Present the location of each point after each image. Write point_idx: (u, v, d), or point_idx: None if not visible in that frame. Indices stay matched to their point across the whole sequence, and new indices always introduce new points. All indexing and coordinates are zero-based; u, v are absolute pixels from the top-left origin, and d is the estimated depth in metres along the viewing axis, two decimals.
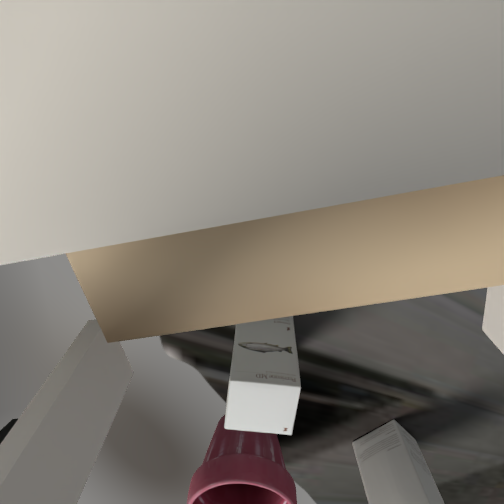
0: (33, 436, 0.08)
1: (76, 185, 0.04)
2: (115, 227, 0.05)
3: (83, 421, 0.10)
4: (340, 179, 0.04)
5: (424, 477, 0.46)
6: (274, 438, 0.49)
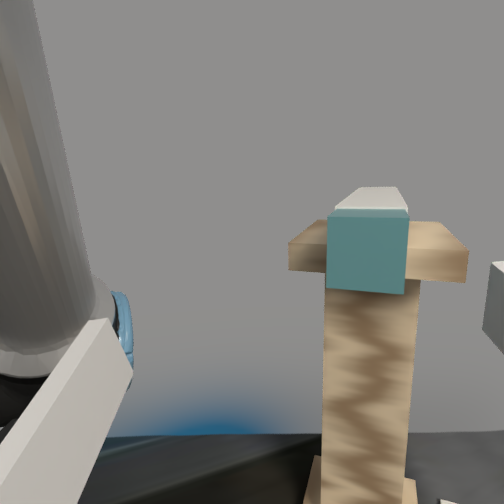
0: (33, 436, 0.08)
1: (386, 193, 0.24)
2: (396, 193, 0.24)
3: (83, 421, 0.10)
4: (393, 190, 0.27)
5: None
6: None
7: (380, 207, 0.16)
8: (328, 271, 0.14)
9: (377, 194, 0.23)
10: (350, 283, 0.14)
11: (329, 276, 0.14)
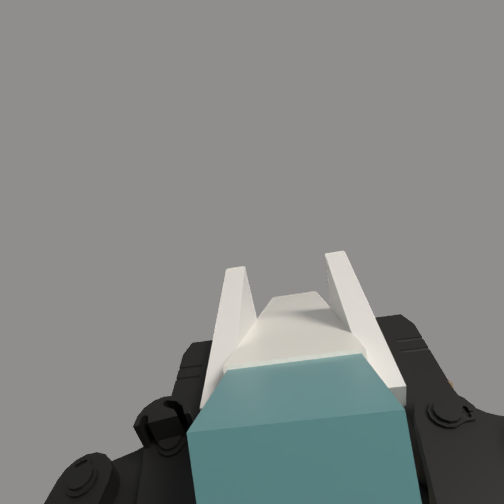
0: (237, 346, 0.10)
1: (309, 307, 0.16)
2: (322, 304, 0.17)
3: None
4: (316, 299, 0.20)
5: None
6: None
7: (312, 355, 0.08)
8: None
9: (297, 310, 0.16)
10: None
11: None
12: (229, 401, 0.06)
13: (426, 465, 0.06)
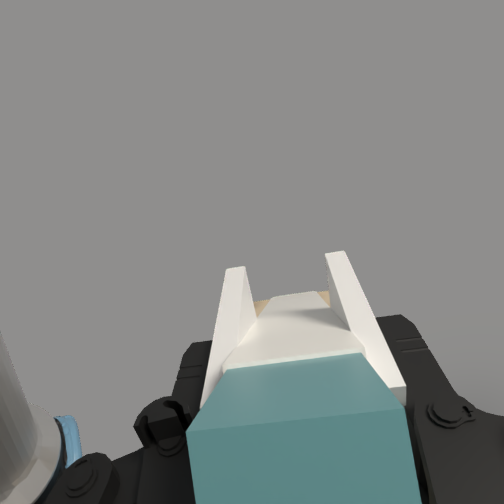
0: None
1: (308, 306, 0.16)
2: (321, 304, 0.17)
3: None
4: (315, 298, 0.20)
5: None
6: None
7: (312, 354, 0.08)
8: None
9: (296, 310, 0.16)
10: None
11: None
12: (229, 400, 0.06)
13: (426, 465, 0.06)
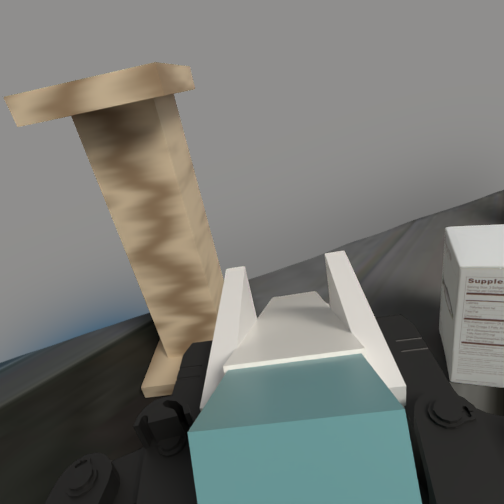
0: (237, 346, 0.10)
1: (308, 307, 0.16)
2: (321, 304, 0.17)
3: None
4: (316, 299, 0.20)
5: None
6: None
7: (312, 355, 0.08)
8: None
9: (297, 310, 0.16)
10: None
11: None
12: (230, 401, 0.06)
13: (425, 465, 0.06)
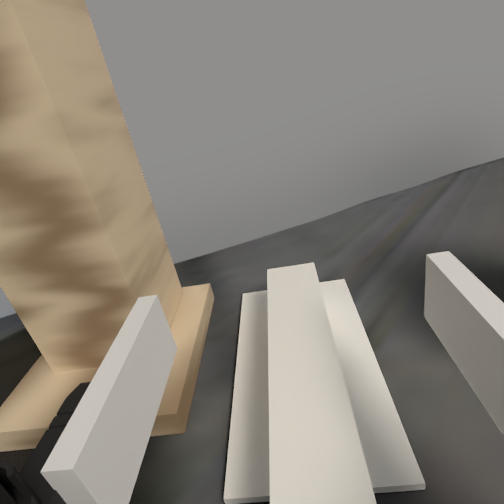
0: (110, 393, 0.09)
1: (320, 365, 0.15)
2: (333, 359, 0.16)
3: (144, 386, 0.11)
4: (321, 317, 0.18)
5: None
6: None
7: None
8: None
9: (309, 380, 0.15)
10: None
11: None
12: None
13: None
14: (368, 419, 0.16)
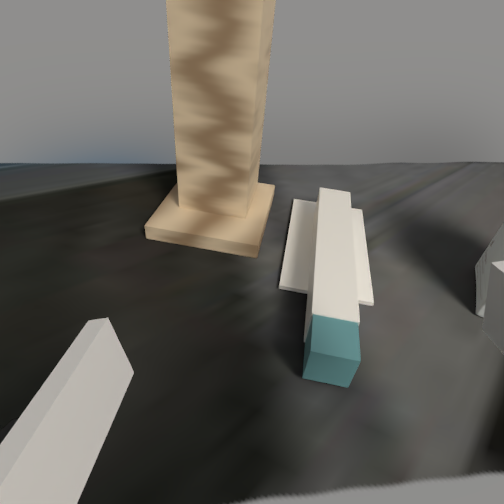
0: (33, 436, 0.08)
1: (343, 241, 0.30)
2: (351, 240, 0.30)
3: (83, 421, 0.10)
4: (348, 221, 0.32)
5: None
6: None
7: (342, 318, 0.23)
8: (305, 372, 0.22)
9: (337, 245, 0.29)
10: (317, 378, 0.23)
11: (305, 374, 0.23)
12: (318, 339, 0.22)
13: None
14: None
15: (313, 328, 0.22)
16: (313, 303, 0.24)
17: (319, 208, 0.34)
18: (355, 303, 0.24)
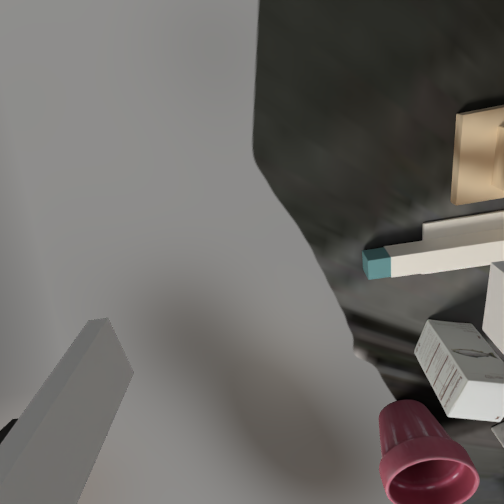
0: (33, 436, 0.08)
1: (459, 262, 0.46)
2: (461, 266, 0.46)
3: (83, 421, 0.10)
4: (485, 262, 0.46)
5: None
6: None
7: (391, 270, 0.47)
8: (363, 253, 0.48)
9: (454, 259, 0.46)
10: None
11: (363, 253, 0.48)
12: (375, 262, 0.46)
13: None
14: None
15: (381, 259, 0.46)
16: (398, 256, 0.46)
17: (501, 241, 0.44)
18: (403, 274, 0.47)
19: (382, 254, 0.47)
